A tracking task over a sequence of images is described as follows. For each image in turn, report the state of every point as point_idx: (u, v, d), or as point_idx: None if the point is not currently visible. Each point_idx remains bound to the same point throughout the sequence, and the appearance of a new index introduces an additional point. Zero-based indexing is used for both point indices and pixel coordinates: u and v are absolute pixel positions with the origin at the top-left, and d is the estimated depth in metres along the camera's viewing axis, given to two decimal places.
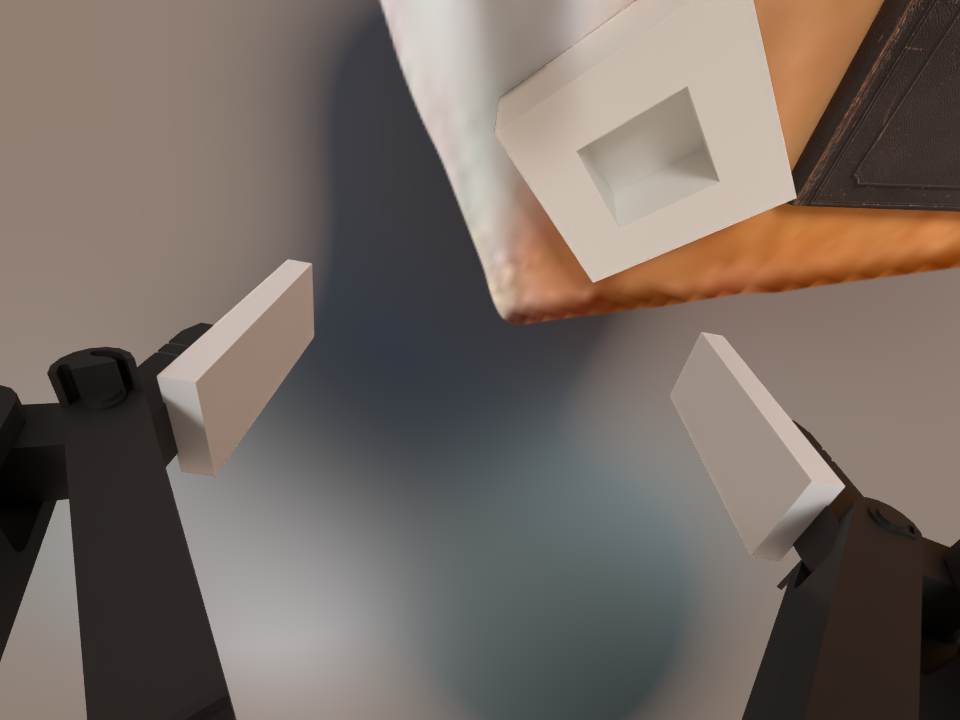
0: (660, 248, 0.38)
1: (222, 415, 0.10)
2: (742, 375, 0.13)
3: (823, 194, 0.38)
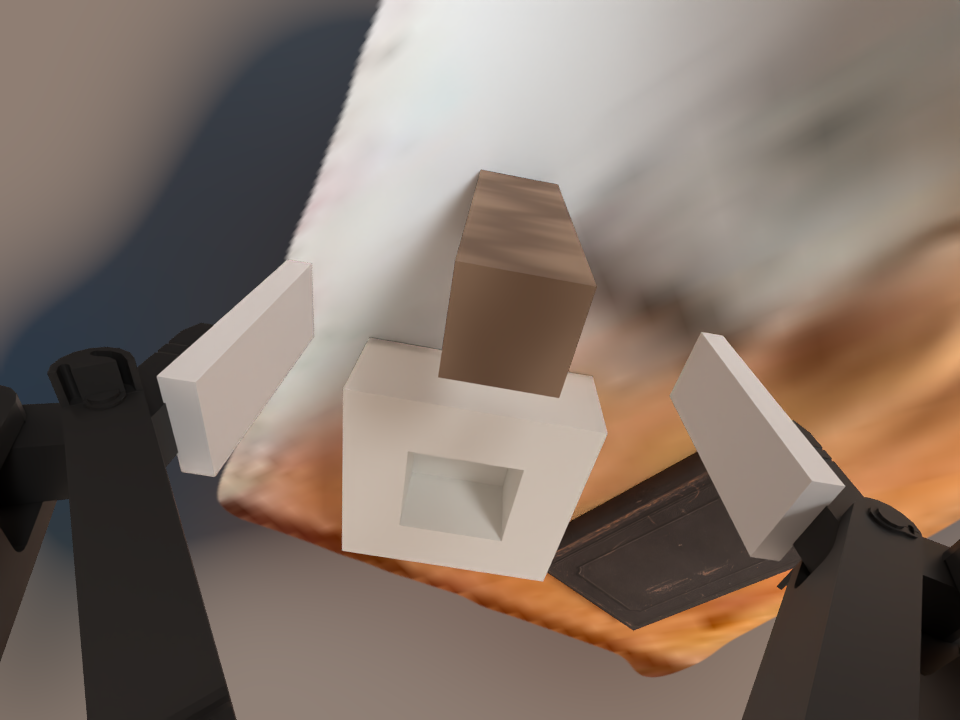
0: (423, 558, 0.36)
1: (222, 415, 0.10)
2: (742, 375, 0.13)
3: (555, 567, 0.42)
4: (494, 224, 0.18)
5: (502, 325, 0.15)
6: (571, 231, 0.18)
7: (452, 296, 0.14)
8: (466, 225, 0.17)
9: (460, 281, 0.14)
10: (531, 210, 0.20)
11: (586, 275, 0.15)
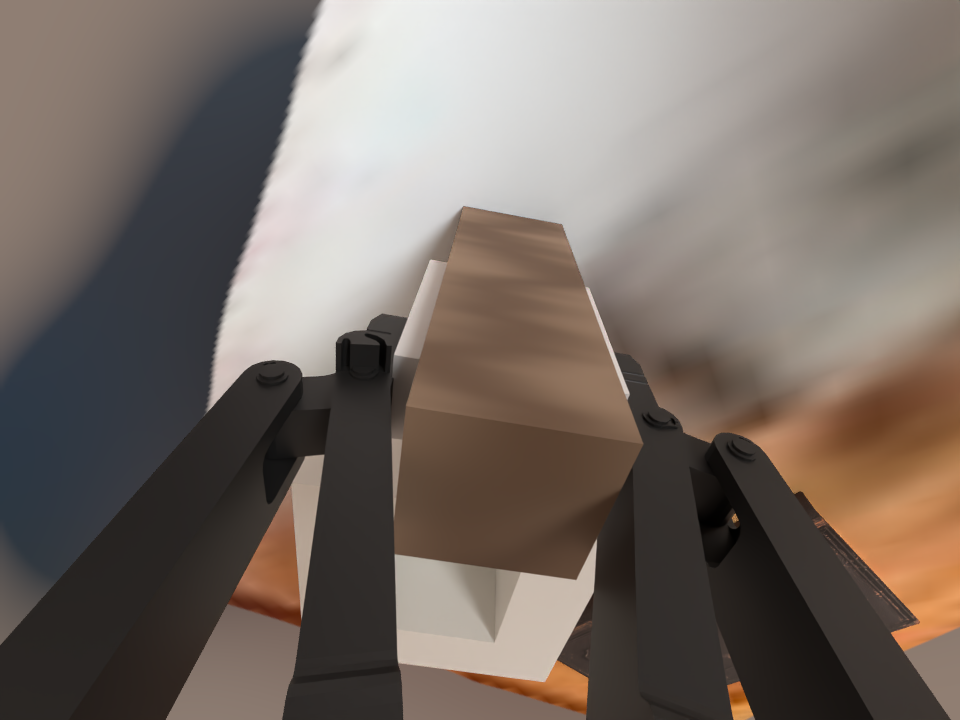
0: (401, 658, 0.30)
1: None
2: None
3: None
4: (476, 307, 0.12)
5: (487, 492, 0.09)
6: (588, 312, 0.13)
7: (405, 454, 0.09)
8: (434, 314, 0.11)
9: (417, 434, 0.09)
10: (530, 274, 0.15)
11: (622, 414, 0.09)
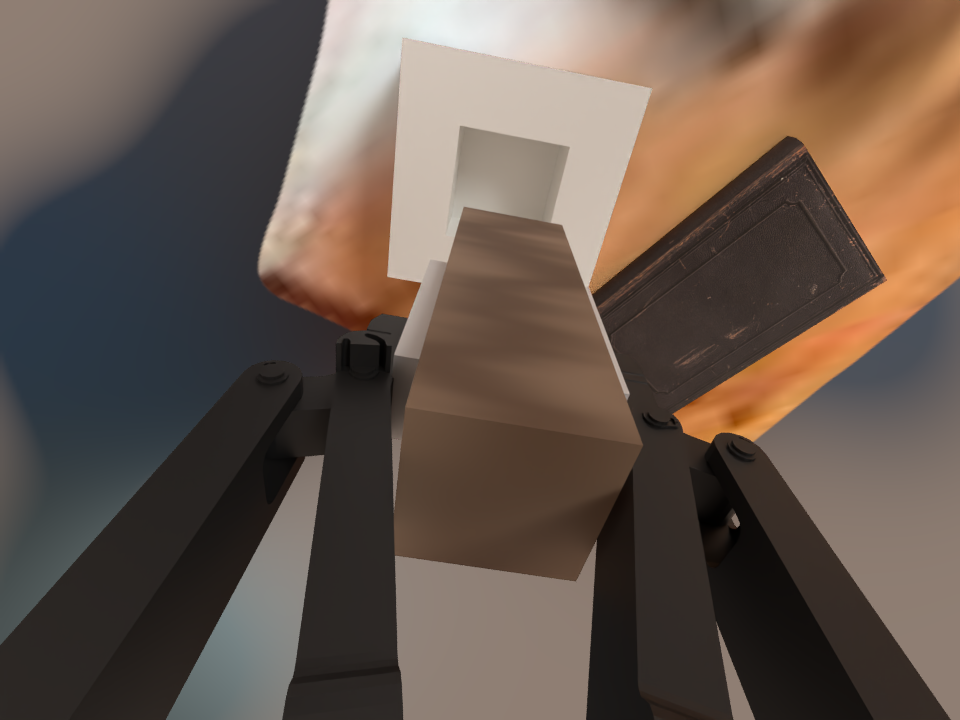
0: None
1: None
2: None
3: None
4: (476, 308, 0.12)
5: (486, 493, 0.09)
6: (588, 313, 0.13)
7: (404, 455, 0.09)
8: (434, 315, 0.11)
9: (416, 435, 0.09)
10: (530, 274, 0.15)
11: (622, 416, 0.09)
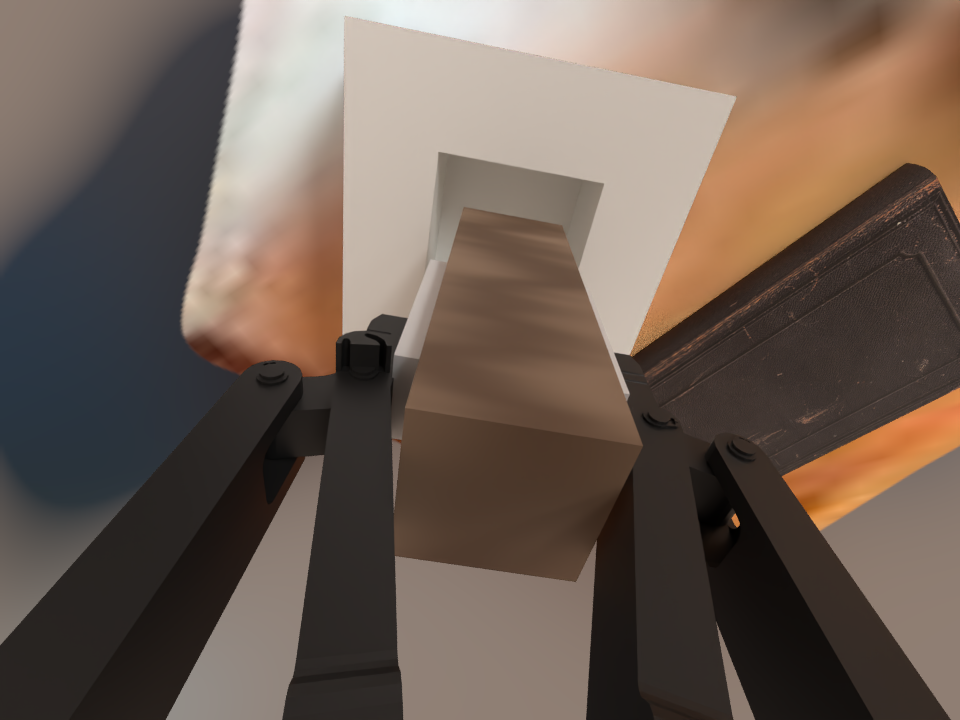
0: None
1: None
2: None
3: None
4: (476, 308, 0.12)
5: (486, 493, 0.09)
6: (588, 313, 0.13)
7: (404, 455, 0.09)
8: (434, 315, 0.11)
9: (416, 436, 0.09)
10: (530, 274, 0.15)
11: (622, 416, 0.09)
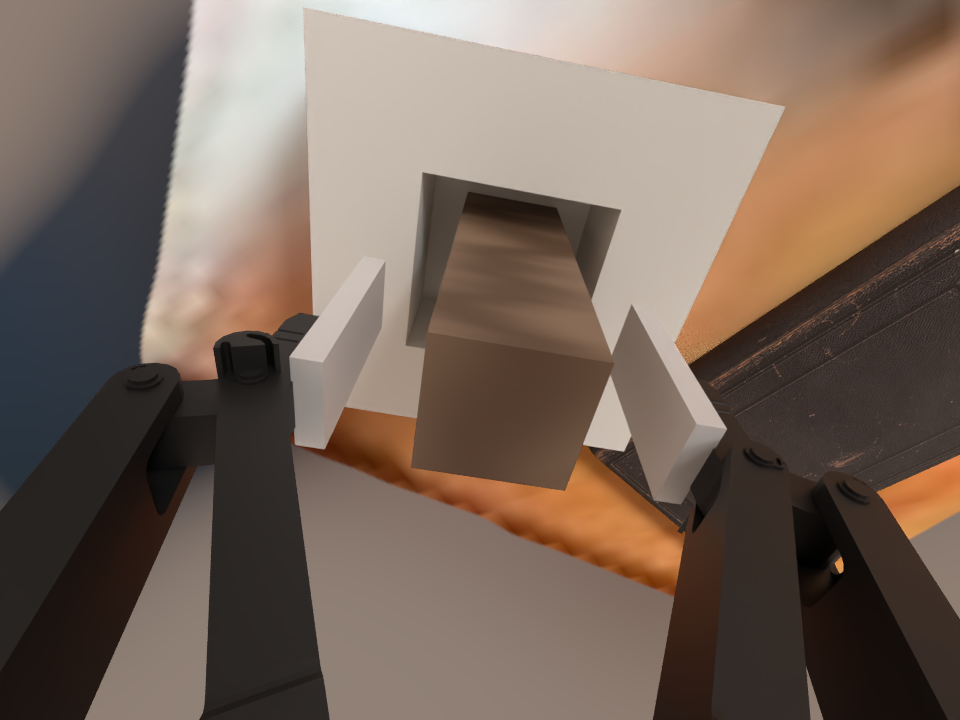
0: None
1: (332, 394, 0.12)
2: (659, 339, 0.14)
3: (625, 462, 0.30)
4: (481, 268, 0.14)
5: (491, 408, 0.12)
6: (576, 275, 0.15)
7: (425, 374, 0.11)
8: (446, 272, 0.13)
9: (435, 357, 0.11)
10: (527, 245, 0.17)
11: (599, 344, 0.11)
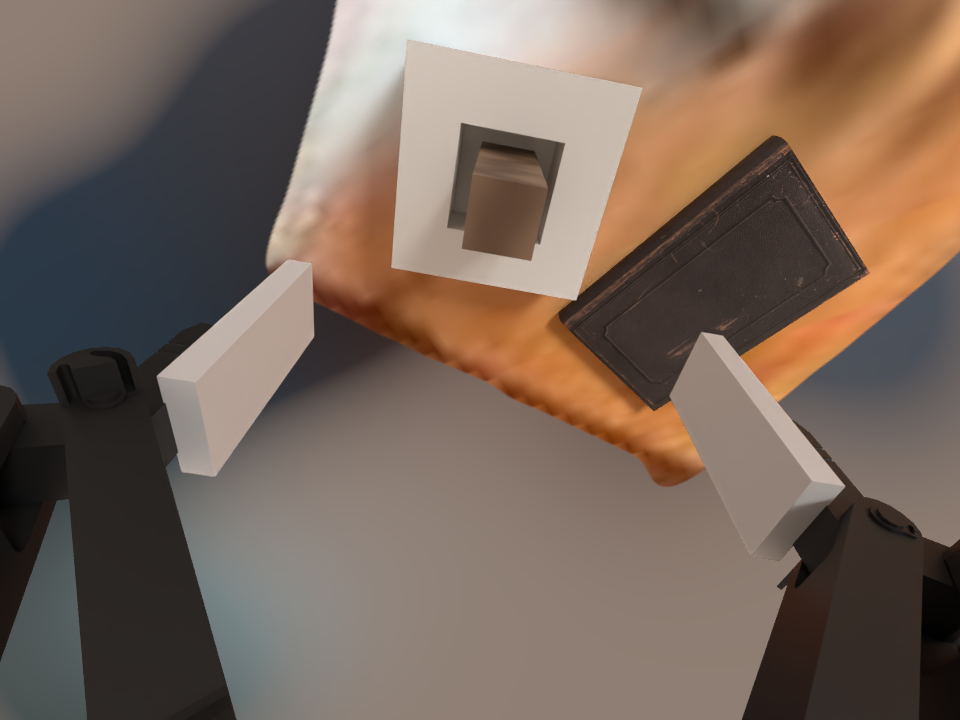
0: (466, 273, 0.39)
1: (222, 415, 0.10)
2: (742, 375, 0.13)
3: (584, 328, 0.46)
4: (492, 164, 0.30)
5: (497, 213, 0.27)
6: (539, 170, 0.31)
7: (470, 196, 0.27)
8: (476, 163, 0.29)
9: (475, 186, 0.26)
10: (515, 160, 0.32)
11: (543, 184, 0.27)
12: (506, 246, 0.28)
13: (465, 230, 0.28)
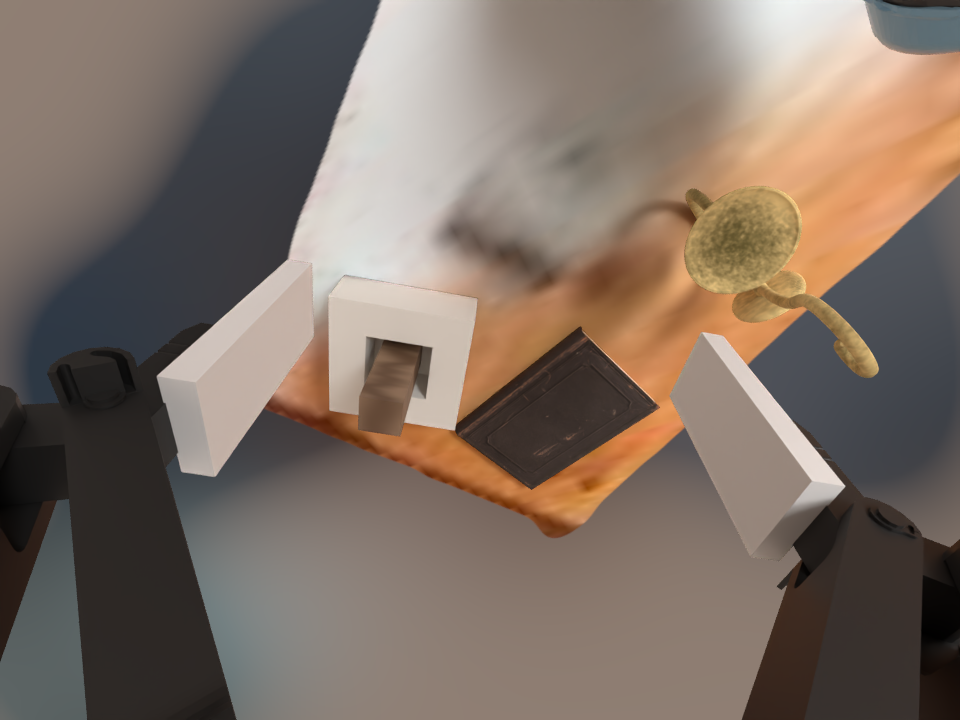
0: None
1: (222, 415, 0.10)
2: (742, 375, 0.13)
3: (472, 438, 0.65)
4: (380, 373, 0.49)
5: (376, 414, 0.46)
6: (410, 373, 0.50)
7: (359, 406, 0.46)
8: (368, 376, 0.48)
9: (361, 402, 0.46)
10: (400, 360, 0.52)
11: (402, 398, 0.46)
12: (384, 429, 0.47)
13: (359, 421, 0.47)
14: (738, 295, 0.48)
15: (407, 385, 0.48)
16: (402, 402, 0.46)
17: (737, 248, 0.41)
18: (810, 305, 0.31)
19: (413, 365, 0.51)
